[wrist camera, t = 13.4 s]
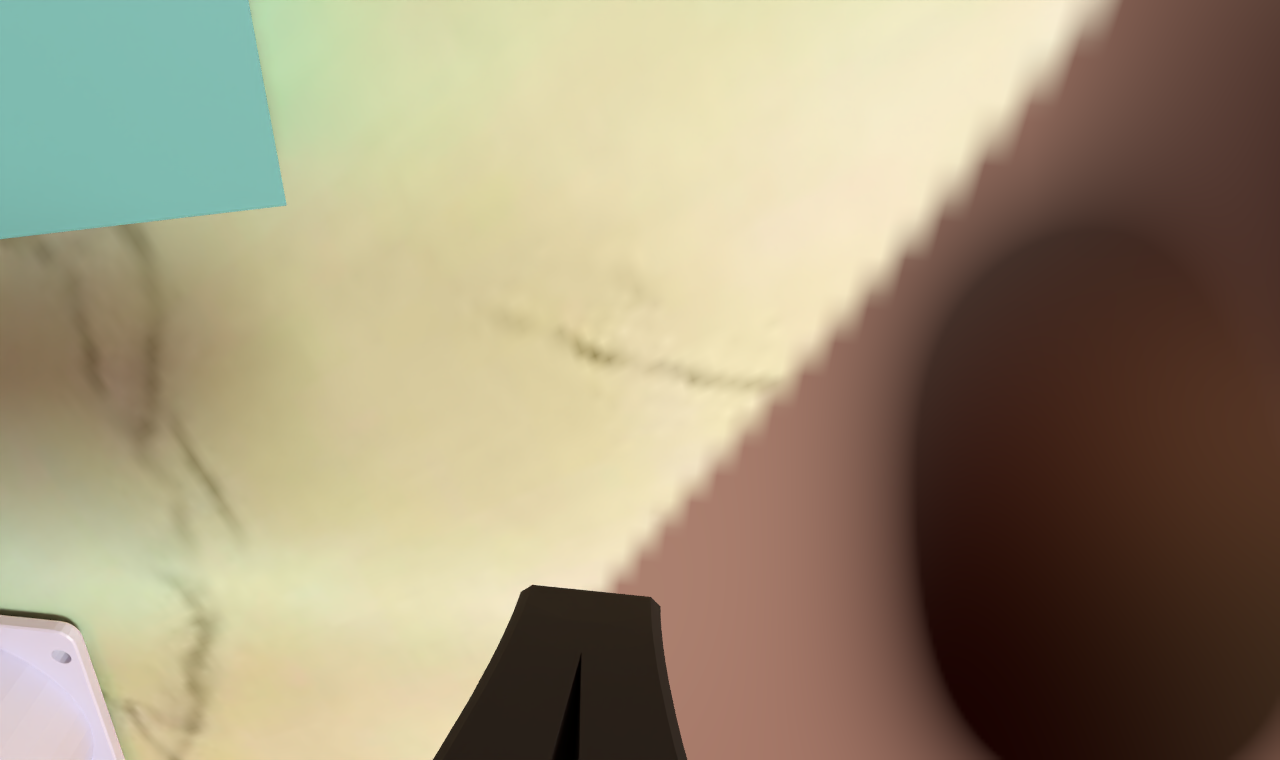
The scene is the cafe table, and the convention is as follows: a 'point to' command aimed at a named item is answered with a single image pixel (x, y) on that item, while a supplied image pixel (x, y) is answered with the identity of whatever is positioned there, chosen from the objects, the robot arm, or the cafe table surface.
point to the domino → (130, 114)
